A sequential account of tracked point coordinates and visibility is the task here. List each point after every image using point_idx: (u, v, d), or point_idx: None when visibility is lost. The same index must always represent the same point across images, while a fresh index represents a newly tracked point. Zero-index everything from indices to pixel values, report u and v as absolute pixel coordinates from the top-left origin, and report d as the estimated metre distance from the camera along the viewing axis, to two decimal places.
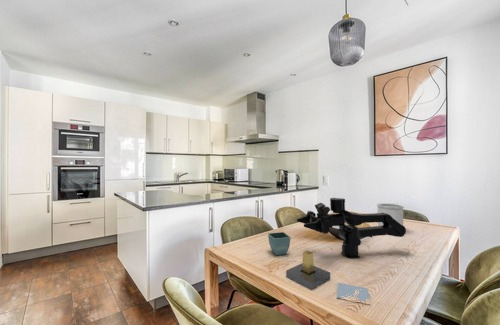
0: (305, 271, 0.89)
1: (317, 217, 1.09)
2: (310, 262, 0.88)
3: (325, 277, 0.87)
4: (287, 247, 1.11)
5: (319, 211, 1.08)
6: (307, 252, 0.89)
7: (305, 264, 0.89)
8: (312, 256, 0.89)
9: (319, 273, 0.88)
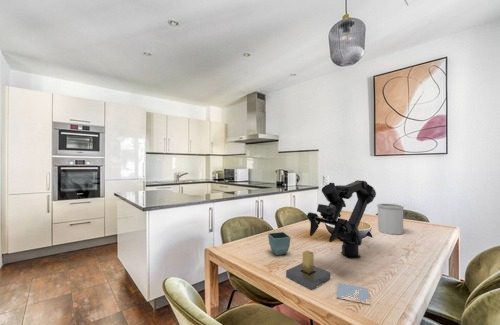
0: (305, 271, 0.89)
1: (325, 218, 0.98)
2: (310, 262, 0.88)
3: (325, 277, 0.87)
4: (287, 247, 1.11)
5: (325, 213, 0.96)
6: (307, 252, 0.89)
7: (305, 264, 0.89)
8: (312, 256, 0.89)
9: (319, 273, 0.88)
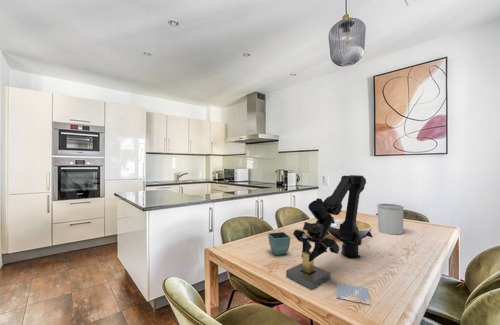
0: (305, 271, 0.89)
1: (312, 237, 0.92)
2: (310, 262, 0.88)
3: (325, 277, 0.87)
4: (287, 247, 1.11)
5: None
6: (307, 252, 0.89)
7: (305, 264, 0.89)
8: None
9: (319, 273, 0.88)
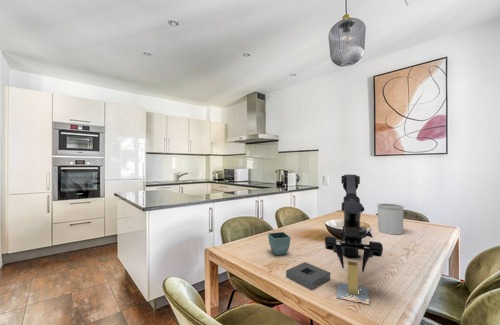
0: (352, 286, 0.77)
1: (351, 242, 0.82)
2: (357, 274, 0.78)
3: (325, 277, 0.87)
4: (287, 247, 1.11)
5: (353, 237, 0.80)
6: (352, 263, 0.78)
7: (352, 278, 0.77)
8: None
9: (319, 273, 0.88)
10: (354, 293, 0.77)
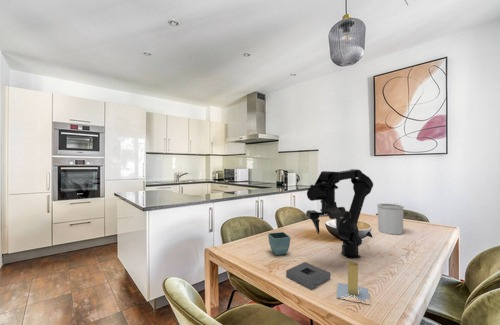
0: (352, 286, 0.77)
1: None
2: (357, 274, 0.78)
3: (325, 277, 0.87)
4: (287, 247, 1.11)
5: None
6: (352, 263, 0.78)
7: (352, 278, 0.77)
8: None
9: (319, 273, 0.88)
10: (354, 293, 0.77)
